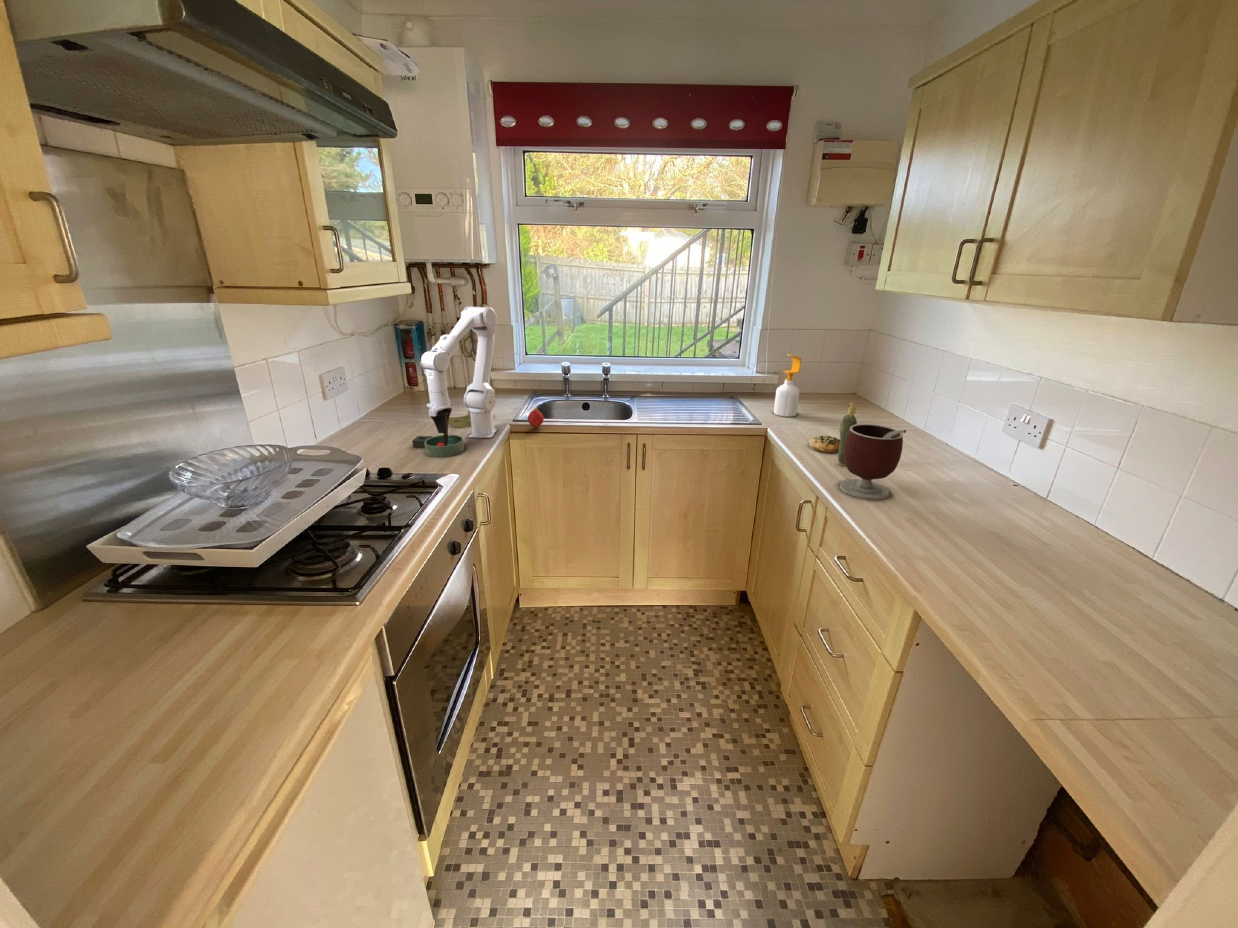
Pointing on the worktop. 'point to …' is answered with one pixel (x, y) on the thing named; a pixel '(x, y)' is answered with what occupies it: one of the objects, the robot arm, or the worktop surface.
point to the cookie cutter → (460, 421)
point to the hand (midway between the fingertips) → (443, 431)
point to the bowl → (452, 448)
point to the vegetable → (846, 430)
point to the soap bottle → (788, 392)
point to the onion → (535, 418)
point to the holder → (420, 441)
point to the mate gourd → (871, 458)
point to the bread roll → (825, 444)
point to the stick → (446, 433)
